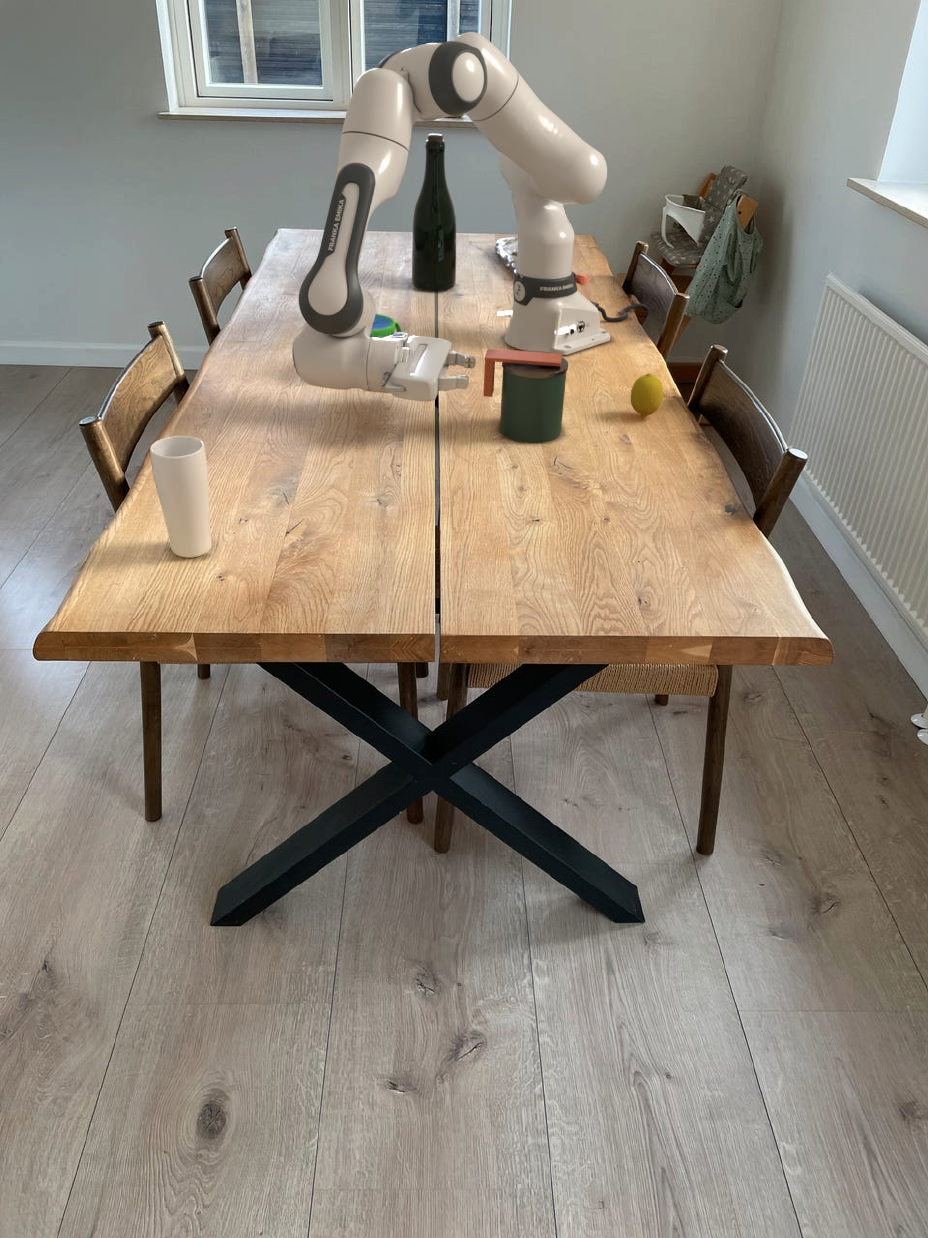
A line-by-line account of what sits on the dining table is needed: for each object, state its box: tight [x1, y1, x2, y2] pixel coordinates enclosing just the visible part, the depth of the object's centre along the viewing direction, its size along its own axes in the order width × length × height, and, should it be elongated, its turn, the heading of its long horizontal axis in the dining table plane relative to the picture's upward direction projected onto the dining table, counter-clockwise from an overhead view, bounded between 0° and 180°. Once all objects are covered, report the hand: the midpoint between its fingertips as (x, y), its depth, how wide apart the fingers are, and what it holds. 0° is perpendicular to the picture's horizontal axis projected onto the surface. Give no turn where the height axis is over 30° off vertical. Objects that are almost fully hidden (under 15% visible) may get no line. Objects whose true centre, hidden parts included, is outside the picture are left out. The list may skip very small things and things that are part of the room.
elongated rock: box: [495, 236, 518, 277], centre depth 254 cm, size 35×5×10 cm
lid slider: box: [483, 348, 563, 398], centre depth 164 cm, size 12×4×7 cm, turn 82°
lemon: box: [630, 372, 664, 418], centre depth 173 cm, size 6×6×8 cm
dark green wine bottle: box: [411, 133, 457, 292], centre depth 228 cm, size 10×10×33 cm
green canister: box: [499, 351, 569, 444], centre depth 166 cm, size 11×11×12 cm
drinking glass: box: [149, 435, 213, 559], centre depth 129 cm, size 7×7×15 cm
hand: (471, 372), depth 165 cm, fingers open, 8 cm apart
